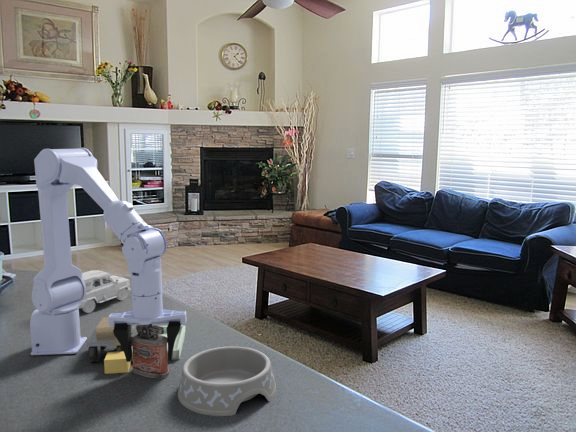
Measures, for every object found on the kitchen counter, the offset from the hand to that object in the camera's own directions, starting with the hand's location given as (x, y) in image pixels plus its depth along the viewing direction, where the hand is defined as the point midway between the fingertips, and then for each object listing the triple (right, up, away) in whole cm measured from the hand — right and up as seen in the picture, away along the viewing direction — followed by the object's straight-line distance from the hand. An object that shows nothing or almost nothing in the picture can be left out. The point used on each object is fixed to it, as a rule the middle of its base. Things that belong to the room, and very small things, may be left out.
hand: (149, 358), depth 98 cm
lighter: (0, -3, +1) cm, 3 cm away
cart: (-11, -1, +9) cm, 14 cm away
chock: (-7, -3, +2) cm, 8 cm away
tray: (-1, -1, +13) cm, 13 cm away
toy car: (-26, +3, +40) cm, 48 cm away
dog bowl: (+16, -5, -5) cm, 17 cm away
